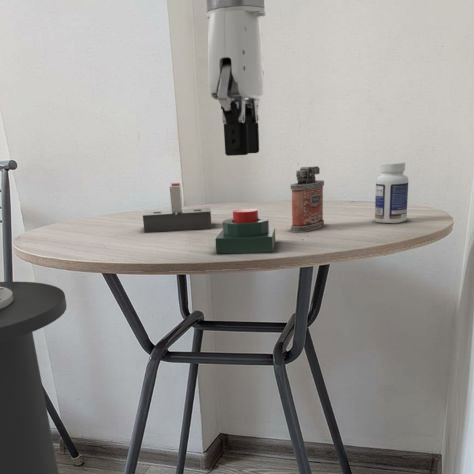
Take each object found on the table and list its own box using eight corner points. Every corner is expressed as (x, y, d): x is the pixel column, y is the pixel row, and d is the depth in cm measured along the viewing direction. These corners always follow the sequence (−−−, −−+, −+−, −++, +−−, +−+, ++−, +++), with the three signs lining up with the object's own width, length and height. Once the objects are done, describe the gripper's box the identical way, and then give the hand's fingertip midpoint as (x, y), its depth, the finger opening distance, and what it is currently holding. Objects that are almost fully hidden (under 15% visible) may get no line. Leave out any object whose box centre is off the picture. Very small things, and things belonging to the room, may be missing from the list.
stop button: (232, 225, 83) (231, 212, 82) (234, 221, 86) (234, 209, 86) (257, 224, 83) (256, 211, 82) (259, 220, 86) (258, 208, 85)
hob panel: (211, 229, 103) (210, 211, 102) (143, 233, 103) (141, 215, 101) (211, 222, 111) (210, 205, 110) (148, 226, 111) (146, 209, 110)
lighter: (304, 232, 95) (303, 168, 92) (286, 231, 97) (285, 168, 94) (328, 224, 101) (328, 164, 98) (311, 223, 103) (311, 164, 100)
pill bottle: (409, 219, 103) (412, 161, 99) (403, 223, 98) (406, 163, 95) (378, 218, 105) (380, 162, 102) (371, 223, 101) (373, 164, 97)
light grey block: (181, 212, 104) (179, 184, 102) (171, 212, 104) (169, 185, 102) (182, 209, 108) (180, 182, 106) (173, 209, 108) (170, 183, 106)
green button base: (216, 254, 83) (214, 225, 81) (223, 243, 90) (222, 217, 89) (272, 252, 82) (271, 223, 80) (275, 241, 89) (274, 215, 88)
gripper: (230, 17, 83) (237, 152, 90) (182, -5, 69) (194, 159, 75) (281, 11, 81) (284, 150, 87) (242, -13, 66) (249, 157, 73)
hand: (242, 152), depth 81 cm, fingers open, 4 cm apart
